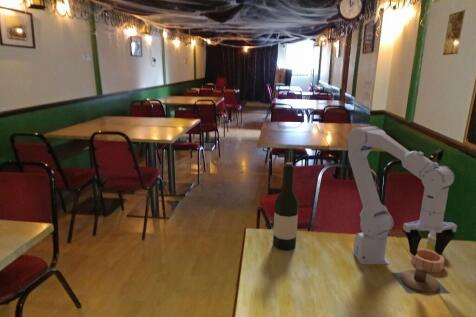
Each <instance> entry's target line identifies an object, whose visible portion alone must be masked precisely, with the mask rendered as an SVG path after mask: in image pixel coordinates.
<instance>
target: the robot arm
mask: <svg viewBox="0 0 476 317" xmlns="http://www.w3.org/2000/svg"><path fill="white" fill-rule="evenodd" d="M346 141H347V144H348V146H347V147H348V151H347V157H348V160H349V164H350V167H351V171H352V174H353V177H354V180H355V184H356V186H357V190H358V194H359V197H360V200H361V204H362V210H361V211H360V212H359V217H360V218H359V219H360V222H359V223H360V229H361V231H362V232H358V233H356V234H355V236H354V243H353V250H352V253H353V255H354V256H355V258H356V259H357V261H358V263H359V264H361V265H390V262H389V261H388V259H387V258H386V257H385V256H386V250H387V243H388V236H389V232H390V230H392V228H393V227H394V224H395V223H394V219H393V217H392V215H391V214H390V212H389V210H388V208H387V206H386V205H384V204H382V202H381V200H380V196H379V194H378V190H377V187H376V184H375V179H374V177H373V173H372V170H371V167H370V164H369V161H368V158H367V157H368V155H369V153H370V152H371V150H373V149H374V148H377V147H379V148H380V149H382V150H384V151H385V152H386V153H388V154H390V155H392V156H393V157H395V158H397V159H398V160H400V161H401V165H402V167H403V168H404V169H406V170H407V171H409V172H410V173H411V174H413V175H414V176H415V177H417V178H418V179H420V180H421V183H422V186H423V187H424V188H423V189H424V190H423V195H422V202H421V209H420V212H419V213H420V214H419V219H418V220H416V221H410V222H404V223H403V225H402V226H403V227H402V230H403V231H404V233H405V235H406V238H407V241H408V247H409V253H410V254H411V256H412V255H413V256H416V254H417V250H418V248H419V245H420V242H421V240H422V239H423V237H422V235H420V233H419V232H430V231H434V232H436V243H435V252H436V253H437V254H438V255H442V254H443V253H444V251H445V249H446V247H447V246H448V245H449V243H450V242H451V241H453V239H454V238H455V237H456V234H455V233H454V232H457V228H458V225H457V224H456V223H454V222H450V221H449V222H448V221H444V218H445V213H446V212H445V211H446V207H447V202H448V201H447V200H448V195H449V189H450V187H449V186H451V185H452V184H453V183H454V181H455V174H454V171H452V170H451V169H450V167H449V166H446V165H439V163H438V162H437V161H435V162H434V161H432V160H431V159H429V158H428V157H427V156H424V152H422V151H421V150H420V151H417V150H411V151H410V150H408V149H407V148H406V147H404V146H403V145H401V144H400V143H399V142H397V141H396V140H395V139H393V137H391V136H389V135H388V134H387V133H386V131H384V130H383V129H380V128H379V127H378V126H375V125H369V126H362V127H353V128H352V129H351V130H350V131H349V133H348V135H347V136H346ZM442 256H443V255H442Z"/></svg>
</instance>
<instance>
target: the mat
mask: <svg viewBox="0 0 476 317" xmlns="http://www.w3.org/2000/svg"><path fill="white" fill-rule="evenodd" d="M401 273H402V272H391V275H392V276H393V277H394V278H395V280H396V281H397V282H398V283H399V284H400V285H401V287H402V288H403V289H404V290H405V292H406V293H407V294H424V293H423V292H419V291H416V290H413V289H411V288H409V287H407V286H406V285H405V284H404V283H403V282H402V281H401ZM427 274H429V275H431V276H433V275H432V274H431V272H427ZM433 294H451V293H450V291H449V290H448V289H447V288H445V286H444V285H442V284H441V282H439V289H438V291H436V292H434V293H433Z"/></svg>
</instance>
